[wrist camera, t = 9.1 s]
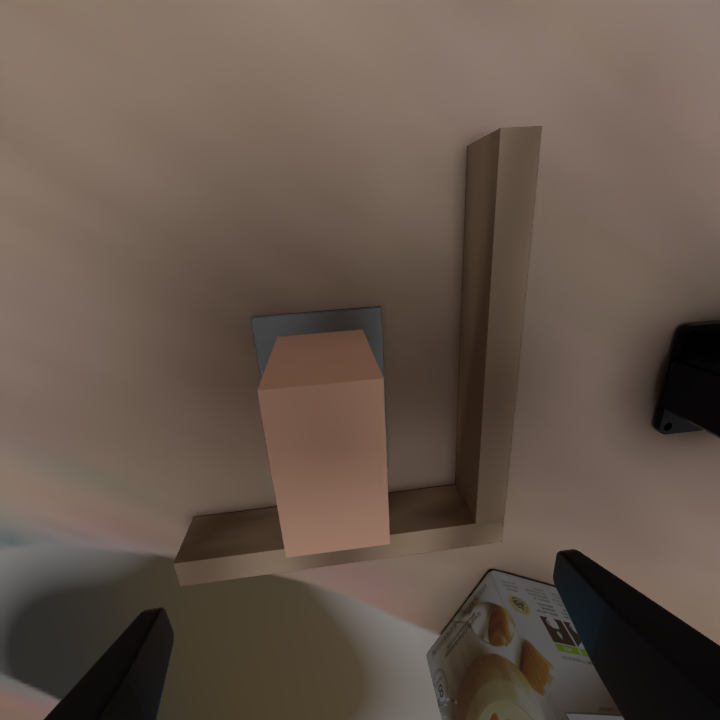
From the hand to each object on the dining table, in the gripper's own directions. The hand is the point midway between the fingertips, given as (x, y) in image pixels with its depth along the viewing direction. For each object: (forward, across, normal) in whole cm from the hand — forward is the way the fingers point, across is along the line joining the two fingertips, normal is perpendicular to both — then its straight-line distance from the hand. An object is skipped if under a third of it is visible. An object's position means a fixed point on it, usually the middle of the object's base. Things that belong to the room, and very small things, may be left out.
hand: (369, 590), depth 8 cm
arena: (+11, +1, -2) cm, 11 cm away
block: (+11, +1, 0) cm, 11 cm away
